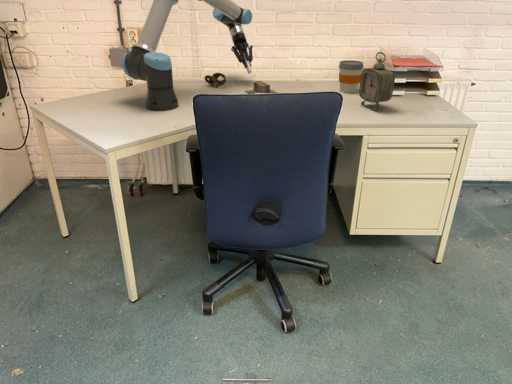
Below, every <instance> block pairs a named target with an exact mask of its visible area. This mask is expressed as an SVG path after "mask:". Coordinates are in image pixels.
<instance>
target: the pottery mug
mask: <svg viewBox="0 0 512 384" xmlns="http://www.w3.org/2000/svg"><path fill="white" fill-rule="evenodd" d="M220 77H222V78H223V79H221V80H220V79H219V78H220ZM226 78H227V77H226V75H225V74H223V73H221V72H214V73H213V74H212V75H209V74H207V75H205V77H204V80H205V82H206V83H208V85H209V86H210V85H211V84H212V85H214V88H216V89H218V88H219V87H221V86H223V85H225V84H226V83H227V79H226Z"/></svg>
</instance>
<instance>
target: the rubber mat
mask: <svg viewBox="0 0 512 384" xmlns="http://www.w3.org/2000/svg"><path fill="white" fill-rule="evenodd" d="M244 92H245V93H247V94H248V95H250V94H255V93H258V92H256V91H254V90H253V89H250V90H245V91H244ZM270 93H278V92H277V91H276V90H275V91H274V90H272V89H271V88H270Z"/></svg>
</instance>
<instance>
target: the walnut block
mask: <svg viewBox="0 0 512 384" xmlns="http://www.w3.org/2000/svg"><path fill="white" fill-rule="evenodd" d="M252 85H253V86H252V87H253V88H252V90H254V91H256V92H258V93H270V89H271V85H270V84H269V83H267V82H264V81H263V80H257V81H256V80H255V81H253V82H252Z"/></svg>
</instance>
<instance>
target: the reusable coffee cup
mask: <svg viewBox="0 0 512 384" xmlns="http://www.w3.org/2000/svg"><path fill="white" fill-rule="evenodd" d="M338 69H339V72H338V82H339V91H340V92H341V93H344V94H356V93H357V92H358V88H359V86H360V79H361V74H362V71H363V69H364V62H362V61H359V60H351V59H350V60H341V61H339V64H338Z"/></svg>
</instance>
